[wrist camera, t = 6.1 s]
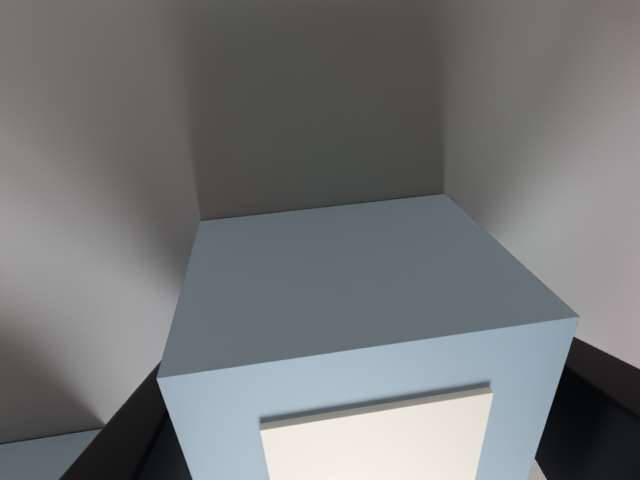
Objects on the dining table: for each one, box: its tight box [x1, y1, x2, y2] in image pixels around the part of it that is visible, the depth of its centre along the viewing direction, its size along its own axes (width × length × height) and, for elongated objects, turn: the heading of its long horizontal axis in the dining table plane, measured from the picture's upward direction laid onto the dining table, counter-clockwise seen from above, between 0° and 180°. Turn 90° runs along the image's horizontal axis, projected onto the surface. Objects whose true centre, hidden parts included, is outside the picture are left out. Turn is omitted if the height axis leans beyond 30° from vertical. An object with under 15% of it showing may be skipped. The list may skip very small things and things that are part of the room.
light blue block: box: [156, 194, 580, 480], centre depth 8 cm, size 5×5×4 cm
